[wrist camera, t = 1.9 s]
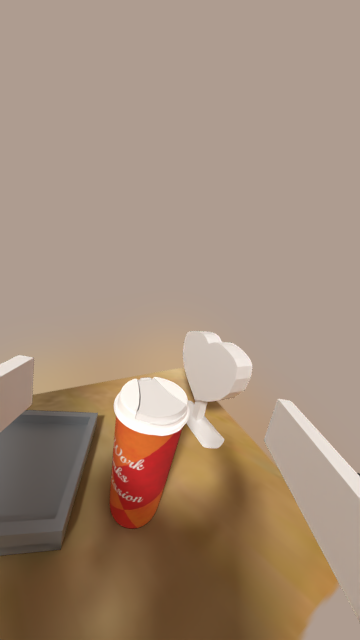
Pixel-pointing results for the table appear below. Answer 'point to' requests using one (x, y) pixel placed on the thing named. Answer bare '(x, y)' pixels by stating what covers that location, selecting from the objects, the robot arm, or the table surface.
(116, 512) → the coffee cup
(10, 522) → the tray
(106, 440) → the table surface
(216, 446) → the heart sculpture
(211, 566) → the table surface
